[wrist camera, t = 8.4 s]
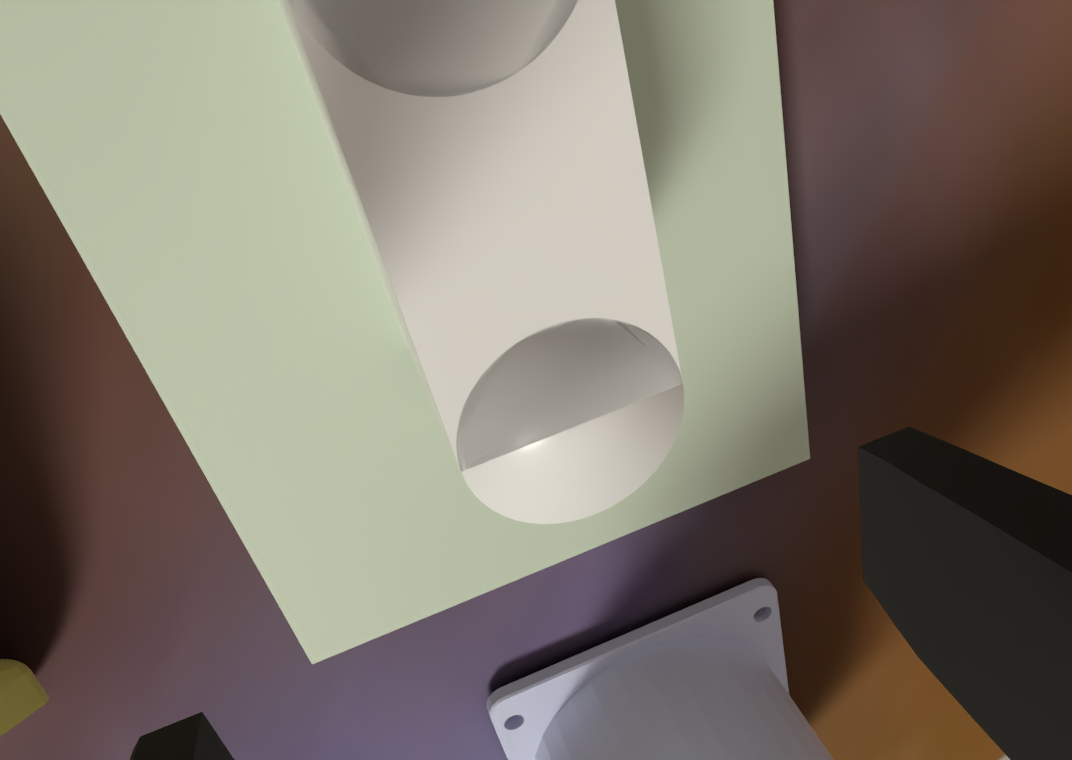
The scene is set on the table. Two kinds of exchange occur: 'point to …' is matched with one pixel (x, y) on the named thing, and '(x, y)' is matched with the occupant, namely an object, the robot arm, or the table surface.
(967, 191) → the table surface
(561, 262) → the grey connector
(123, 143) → the sage board
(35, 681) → the plastic component
